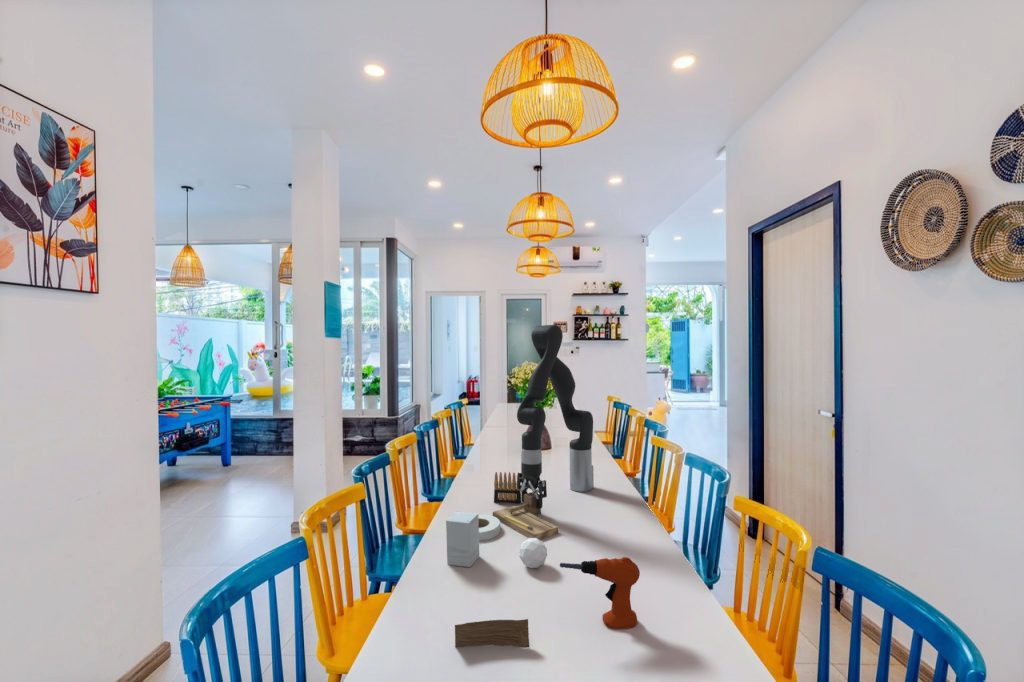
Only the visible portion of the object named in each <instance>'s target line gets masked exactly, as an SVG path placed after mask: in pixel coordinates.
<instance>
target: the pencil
mask: <svg viewBox="0 0 1024 682" xmlns="http://www.w3.org/2000/svg"><path fill="white" fill-rule="evenodd" d="M504 518H505V519H507V520H509V521H512V522H514V523H516V524H518V525H520V526H523V527H525V528H527V529H529V530H533V527H531V526H529V525H527V524H525V523H522V522H520V521H518V520H516V519H513V518H511V517H509V516H507V515H505V516H504Z"/></svg>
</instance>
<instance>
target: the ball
mask: <svg viewBox="0 0 1024 682" xmlns="http://www.w3.org/2000/svg"><path fill="white" fill-rule="evenodd" d="M547 557H548V549H547V546H546V545H545V544H544V541H542V540H541V539H537V538H527V539H526V540H524V541H523V542H522V543H521V546H520V548H519V558H520V561H521V562H522V563H523V565H524V566H526V567H528V568H530V569H537V568H539V567H541V566H542V565H544V564H545V563H546V559H547Z"/></svg>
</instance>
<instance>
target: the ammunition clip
mask: <svg viewBox="0 0 1024 682" xmlns="http://www.w3.org/2000/svg"><path fill="white" fill-rule="evenodd" d="M518 473H520V472H517V474H516V473H515V472H512V475H511V471H509V472H508V475H507V472H506V471H504V474H503V473H502V472H501V471H500V472H499V475H498V472H497V471H495V473H494V482H493V485H494V486H493V487H494V489H493V490H494V491H493V504H519V505H522V504H521V503H522V499H521V491H520V489H518V488H517V484H518ZM507 476H508V477H507ZM520 485H522V482H521V483H520Z"/></svg>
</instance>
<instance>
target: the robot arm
mask: <svg viewBox="0 0 1024 682" xmlns="http://www.w3.org/2000/svg"><path fill="white" fill-rule="evenodd" d="M530 336H531V341H532V345H533V347H534V348H535V350H536V352H537V354H538V356H539V358H540V361H539V363H538V364H537V365H536V367H535V368H534V370H533V371H532V373H530V374H531V375H530V377H529V380H528V384H527V385H528V386H527V389H526V392H525V395H524V397H523V399H522V400H521V403H520V404H519V407H518V409H517V411H516V418H517V421H518V423H519V424H521V425H524V426H531V427H532V428H531V430H528V431H524V432H522V434H521V454H520V461H521V464H520V472H519V473H518V472H517V474H518V484H517V487H516V489H517V488H518V489H520V491H521V503H523V504H524V494H527V493H529V492H528V489H529V490H531V492H533V493H535V496H536V508H537V509H541V510H542V508H543V498H544V499H545V498H547V497H548V496H547V494H548V492H547V480H546V479H544V480H541V477H540V476H541V475H542V472H543V467H542V466H543V463H542V461H543V457H542V455H543V454H542V435H543V429H544V426H545V422H546V415H547V414H546V411H545V409H544V408H542V406H537V405H535V404H536V403H539V402H543V401H544V400H545V398H546V393H547V389H548V384H549V380H550V384H551V386H552V389H553V391H554V394H555V396H556V398H557V401H558V404H559V407H560V410H561V415H562V417H563V420H564V424H565V427H566V428H567V430H569V431H571V432H576V433H577V432H578V433H579V435H578V438H575V439H572V440H570V441H569V488H570V490H571V491H574V492H579V493H580V492H582V493H583V492H584V493H586V492H589V491H592V489H594V484H595V483H594V466H593V464H592V462H593V461H592V446H593V445H592V444H593V436H594V418H593V414H592V412H591V411H589V410H581V409H576V408H575V406H574V403H573V396H574V394H575V391H576V382H575V381H576V380H575V379H574V376H573V373H572V371H571V369H570V368H569V367H568V365H566V363H564V362H563V360H561V359H560V358H559V357H558V354H559V351H560V350H561V346H562V342H563V337H564V336H563V331H562V329H561V327H560V326H559V325H557V324H545V325H537V326H535V327H533V329H532V330H531V335H530ZM520 483H521V485H520ZM538 494H539V495H538Z"/></svg>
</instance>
